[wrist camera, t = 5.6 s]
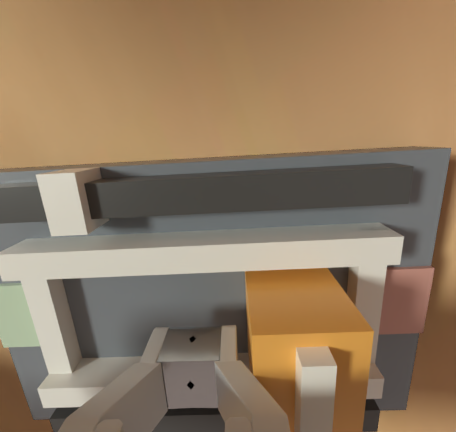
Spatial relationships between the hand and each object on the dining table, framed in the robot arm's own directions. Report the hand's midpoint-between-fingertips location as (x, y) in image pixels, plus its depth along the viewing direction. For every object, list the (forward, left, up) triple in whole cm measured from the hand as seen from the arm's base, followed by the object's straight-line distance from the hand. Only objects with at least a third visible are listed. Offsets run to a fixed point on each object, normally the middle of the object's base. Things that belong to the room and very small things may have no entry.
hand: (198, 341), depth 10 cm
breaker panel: (0, 0, -4) cm, 4 cm away
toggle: (+3, 0, -2) cm, 4 cm away
